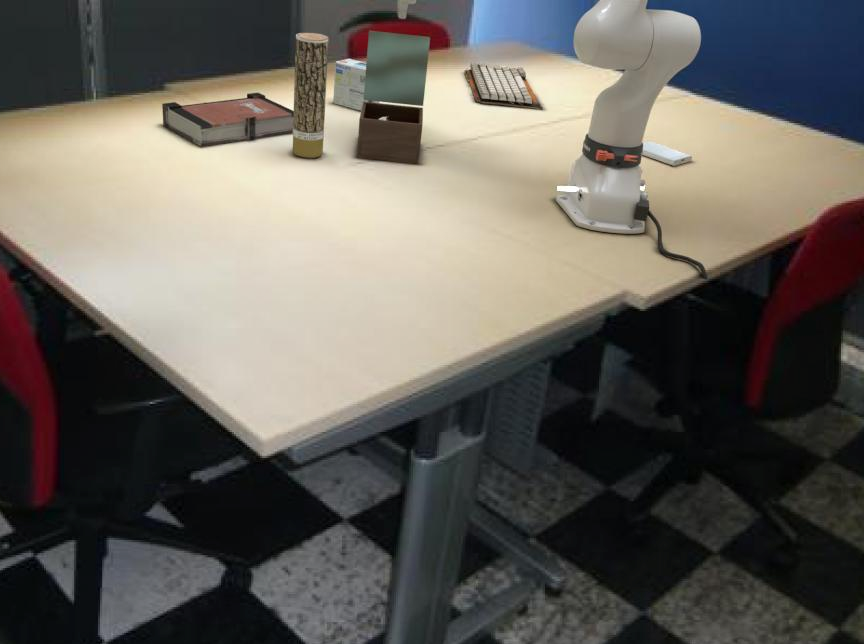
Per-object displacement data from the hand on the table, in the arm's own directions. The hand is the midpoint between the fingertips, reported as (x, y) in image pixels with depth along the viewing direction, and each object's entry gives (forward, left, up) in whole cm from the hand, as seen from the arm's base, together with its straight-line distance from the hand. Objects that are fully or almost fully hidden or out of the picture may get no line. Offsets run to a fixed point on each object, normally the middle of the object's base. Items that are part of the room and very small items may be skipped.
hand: (401, 17), depth 207 cm
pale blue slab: (-6, 0, -10) cm, 12 cm away
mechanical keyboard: (+54, -31, -27) cm, 68 cm away
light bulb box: (+20, +10, -27) cm, 35 cm away
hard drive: (+3, -68, -27) cm, 73 cm away
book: (-11, +37, -27) cm, 47 cm away
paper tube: (-23, +18, -27) cm, 39 cm away
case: (-15, 0, -27) cm, 30 cm away
